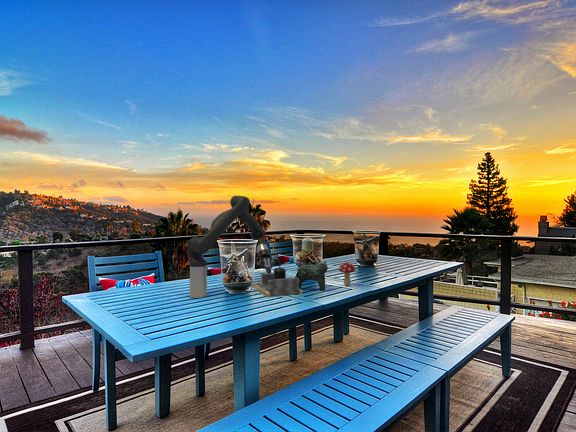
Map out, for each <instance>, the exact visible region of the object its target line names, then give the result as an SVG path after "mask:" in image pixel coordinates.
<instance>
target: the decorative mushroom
mask: <svg viewBox="0 0 576 432" xmlns="http://www.w3.org/2000/svg"><path fill="white" fill-rule="evenodd" d="M356 270H357V268H356V267H355V265H354V264H352V263H351V262H345V263H342V264H341V265H339V268H338V271H339V272H341V273H343V274H344V279H343V284H344V286H346V287H348V286H350V285H351V283H352V282H351V273H355V272H356Z"/></svg>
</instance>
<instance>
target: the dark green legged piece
mask: <svg viewBox="0 0 576 432" xmlns="http://www.w3.org/2000/svg"><path fill="white" fill-rule="evenodd" d="M311 260H314V257H313V258H311ZM315 260H317V261H316V264H311V263H309V262H302V263H300V264H299V265H298V267H297V270H296V273H295V277H294V278H299V289H301V290H302V285H303V283H304V282H305V281H308V280H309V281H310V280H311V281H316V282H317V284H318V287H319V291H320V292H325V291H326V275H325V274H326V273H327V271H328V264H327V261H326V260H324V261H323V262H319V261H318V258H316V257H315Z"/></svg>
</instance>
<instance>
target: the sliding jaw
mask: <svg viewBox="0 0 576 432" xmlns="http://www.w3.org/2000/svg"><path fill="white" fill-rule="evenodd" d="M286 278H287V273H285V279H286ZM274 279H275V278H274V272H271V273H267V272H266V273H260V274H259V282H260V287H261V288H263V289H264V290H268V280H274Z"/></svg>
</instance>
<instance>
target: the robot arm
mask: <svg viewBox="0 0 576 432" xmlns="http://www.w3.org/2000/svg"><path fill="white" fill-rule="evenodd" d="M250 203H251V202H250V199H249V197H248V196H243V195H233V196H232V197H231V198H230V206H231V208H230V209H227V210H225V211H223V212H221V213H220V214H218V215H217V216H216V217H215V218H214V219H213V220H212V222H211V225H210V229H209V231H208V232H207V233H206V234H205V235H204V236H202V237H199V236H198V237H197V236H196V237H195V236H194V237H191V238H190V239H189V241H188V242H187V243H188V244H187V257H188V263H189V289H188V290H189V298H191V299H201V298H205V297H207V296H208V284H207V283H208V274H207V273H208V271H207V270H208V267H207V266H208V264H207V263H208V261H207V260H206V259H205V258H204V257H203V255H204V254H206V253H208V252H209V250H210V249H211V248H212V247H213V246H214V244H215V243H216V241H217V240H218V239H219V237H220V236H222V234H224V232H225V231H226V230H227V229H228V228H229V227H230V226H231V225H232V224H233V223H234V222H235V221H236V220H237V218H238V217H240V218H241V219H242V221H243V222H244V223H245V225H246V226H247V229H248V230H249V231H250V235H249V236H250V237H251V239H252V240H253V241H254V240H258V241H259V243H258V245H257V247H256V253H257V256H258V259H259V260H258V261H257V263H256V265H257V266H259V267H260V268H261V269H263V270H265V271H266V273H272V268H273V267H274V264H275V263H276V260H275V259H272V258H271V255H270V254H271V253H270V251H269V248H268V245H267V242H266V240H265V238H264V237H265V236H266V230H265V229H264V228H263V227H262V226H261V225H260V224H258V222H257V220H256V219H255V217H254V216H253V215H252V214H251V213H249V212H248V211H247V209H248V208H249V207H250Z"/></svg>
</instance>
